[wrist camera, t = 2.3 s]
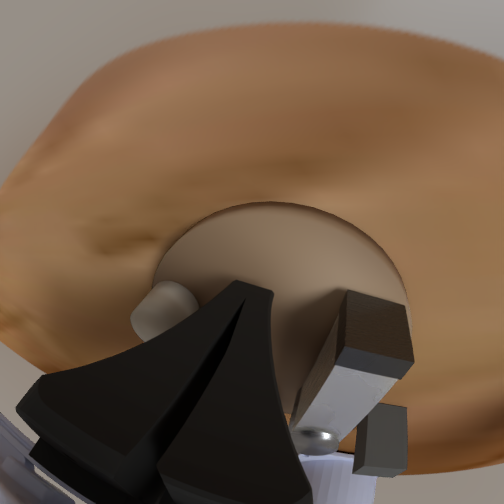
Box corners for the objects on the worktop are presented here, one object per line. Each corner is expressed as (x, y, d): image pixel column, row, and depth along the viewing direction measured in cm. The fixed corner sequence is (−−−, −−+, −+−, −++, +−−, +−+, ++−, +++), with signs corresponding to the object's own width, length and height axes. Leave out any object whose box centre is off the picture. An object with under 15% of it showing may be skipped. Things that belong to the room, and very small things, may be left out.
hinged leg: (334, 411, 13) (326, 458, 10) (291, 401, 13) (278, 448, 11) (406, 305, 9) (416, 366, 7) (345, 288, 9) (342, 350, 7)
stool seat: (348, 412, 15) (343, 457, 12) (168, 357, 17) (144, 395, 14) (454, 252, 9) (481, 304, 7) (165, 171, 11) (115, 199, 8)
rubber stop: (394, 419, 14) (392, 477, 11) (358, 413, 15) (351, 473, 11) (406, 407, 14) (406, 469, 10) (368, 401, 14) (364, 465, 11)
